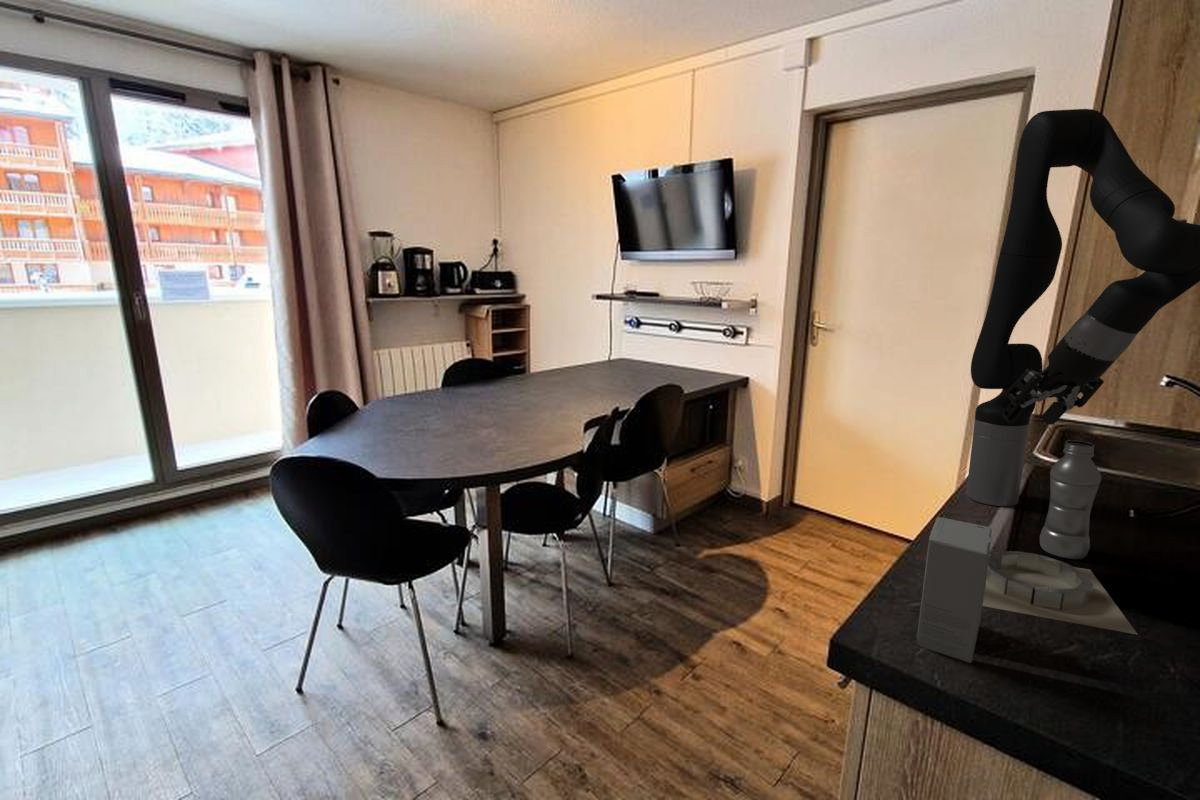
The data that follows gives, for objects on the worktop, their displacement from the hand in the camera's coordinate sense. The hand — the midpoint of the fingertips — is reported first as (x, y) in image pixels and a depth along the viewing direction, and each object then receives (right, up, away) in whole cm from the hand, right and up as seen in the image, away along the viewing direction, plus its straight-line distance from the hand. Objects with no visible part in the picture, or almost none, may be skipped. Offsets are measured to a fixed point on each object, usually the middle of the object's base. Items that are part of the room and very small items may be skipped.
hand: (1026, 420), depth 98 cm
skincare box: (-29, -29, -24) cm, 47 cm away
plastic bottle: (+3, -23, -4) cm, 24 cm away
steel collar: (-10, -25, -14) cm, 30 cm away
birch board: (-10, -26, -14) cm, 31 cm away
